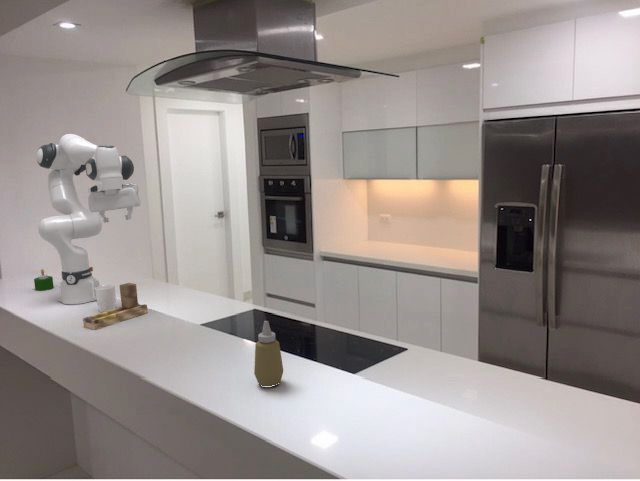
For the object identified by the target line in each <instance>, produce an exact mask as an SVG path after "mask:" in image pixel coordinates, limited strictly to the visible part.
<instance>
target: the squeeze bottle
mask: <svg viewBox="0 0 640 481" xmlns="http://www.w3.org/2000/svg"><path fill="white" fill-rule="evenodd" d="M269 322H270V321H269V320H264V321H263V326H262V332H260V333H259V334H258V335H257V336H258V337H257V338H258V341H257V342H256V343H255V347H254V348H255V350H254V368H253V369H254V372H253V373H254V376H255V379H256V381H257V383H259V384H260V385H262V386H272V385H276V384H278V383H280V384H281V381H282V377H283V374H284V367H283V366H284V365H283V358H282V353H281V346H280V342H279V341H278V340H277V339H276V333H275V332H274V331H272V330H271V327H270V323H269ZM259 384H258V385H259ZM260 385H259V386H260Z"/></svg>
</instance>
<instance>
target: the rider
mask: <svg viewBox="0 0 640 481" xmlns="http://www.w3.org/2000/svg"><path fill="white" fill-rule="evenodd" d="M137 289H138V288H137V283H132V282H126V283H124V284H119V294H120V302H121V307H124V310H127V309H130V308H133V307H135V306H138V303H139V301H138V300H139V299H138V290H137Z"/></svg>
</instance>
